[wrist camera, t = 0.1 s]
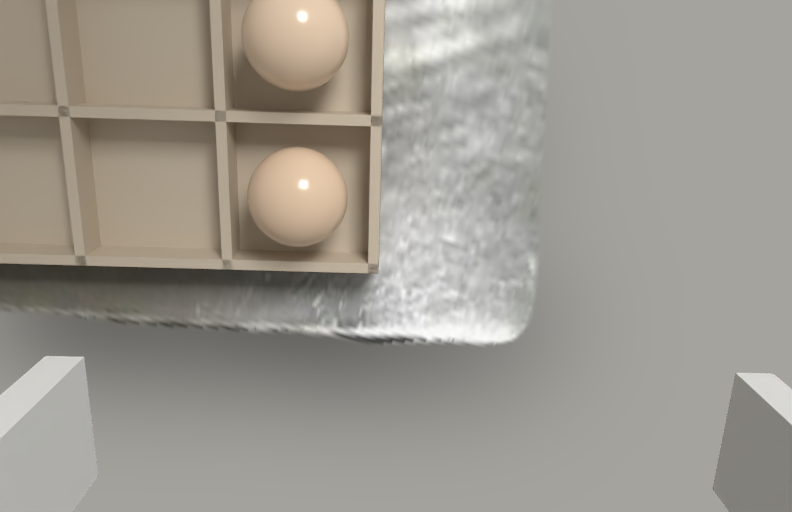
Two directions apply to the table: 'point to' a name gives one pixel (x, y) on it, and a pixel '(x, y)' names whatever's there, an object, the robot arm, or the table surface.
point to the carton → (172, 136)
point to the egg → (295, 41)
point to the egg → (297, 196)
